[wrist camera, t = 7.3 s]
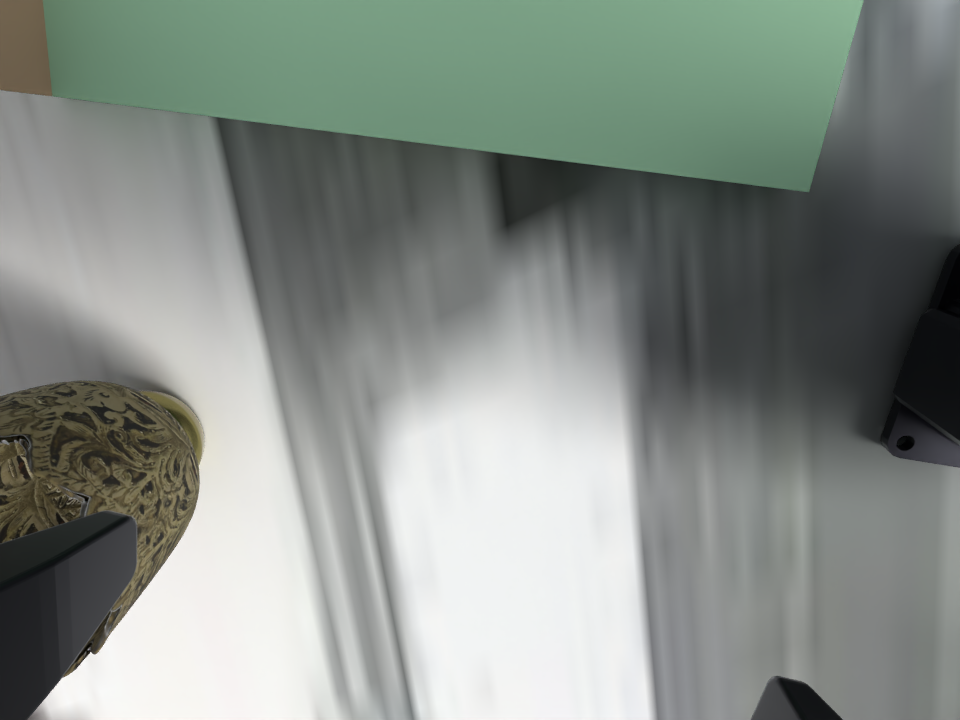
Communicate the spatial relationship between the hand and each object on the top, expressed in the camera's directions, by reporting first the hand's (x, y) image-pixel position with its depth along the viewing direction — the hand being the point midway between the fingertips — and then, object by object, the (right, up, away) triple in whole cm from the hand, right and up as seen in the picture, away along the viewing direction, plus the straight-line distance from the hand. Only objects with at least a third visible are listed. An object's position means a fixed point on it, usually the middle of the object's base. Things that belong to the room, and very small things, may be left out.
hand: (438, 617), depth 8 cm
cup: (-11, +1, +14) cm, 18 cm away
